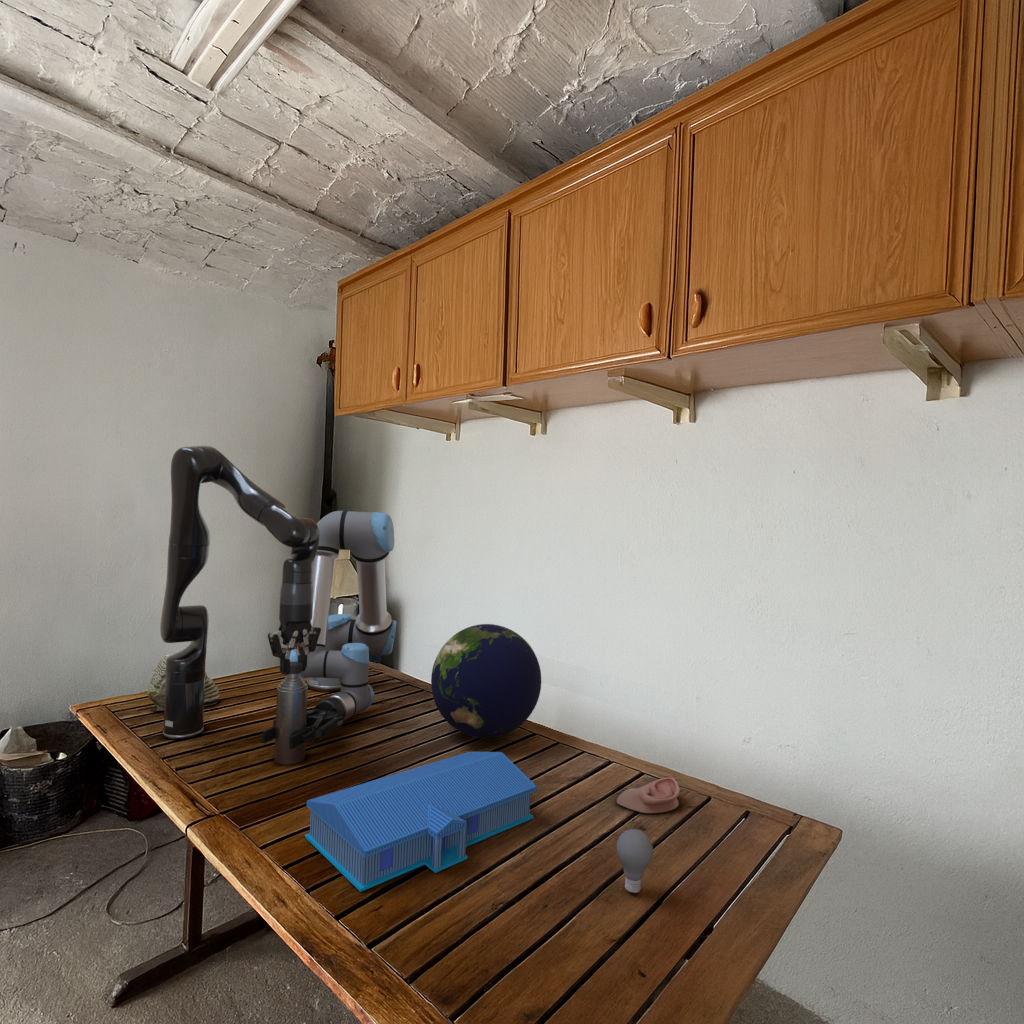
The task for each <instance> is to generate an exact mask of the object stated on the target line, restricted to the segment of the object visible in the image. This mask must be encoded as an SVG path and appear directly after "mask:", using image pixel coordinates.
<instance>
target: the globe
mask: <svg viewBox="0 0 1024 1024" xmlns="http://www.w3.org/2000/svg"><path fill="white" fill-rule="evenodd" d="M430 686H431V688H430V689H431V694H432V697H433V701H434V703H435V706H436V709H437V711H439V713H440V715H441V716H442V718H443V719H444V720H445V721H446V723H448V724H449V725H450V726H451V727H453V728H454V729H455V730H456V731H458V732H460V733H462V734H463V735H466V736H470V737H473V738H477V739H493V738H497V737H502V736H505V735H507V734H509V733H512V732H513V731H515V730H517V729H519V727H521V725H523V724H524V723H525V722H526V721H527V720H528V719H529V718H530V716H531V715H532V714H533V712H534V710H535V708H536V706H537V704H538V702H539V698H540V695H541V689H542V671H541V666H540V663H539V660H538V657H537V655H536V653H535V651H534V649H533V648H532V646H531V645H530V644H529V642H528V641H527V640H526V639H525V638H524V637H522V636H521V635H520V634H519V633H517V632H515V630H512V629H510V628H508V627H506V626H503V625H499V624H494V623H480V624H475V625H471V626H468V627H465V628H464V629H461V630H460V631H457V632H456V633H455V634H454V635H452V636H451V637H450V638H449V639H448V640H446V642H445V643H444V644H443V645H442V647H441V648H440V649H439V651H438V653H437V656H436V657H435V660H434V663H433V665H432V670H431V678H430Z"/></svg>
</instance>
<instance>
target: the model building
mask: <svg viewBox="0 0 1024 1024" xmlns="http://www.w3.org/2000/svg"><path fill="white" fill-rule="evenodd" d="M537 789H538V788H537V785H536V784H535V783H534V782H533V781H532V780H531V779H530V778H529V777H528V776H527V775H526V774H525V773H524V772H523V771H522V770H521V769H520V768H519V767H518V766H517V765H516V764H515V763H513V761H511V759H510V758H509V757H507V755H505V754H504V752H502V751H468V752H464V753H460V754H457V755H454V756H450V757H447V758H444V759H441V760H437V761H434V762H431V763H427V764H424V765H421V766H418V767H414V768H411V769H407V770H404V771H400V772H398V773H394V774H390V775H387V776H384V777H381V778H377V779H374V780H371V781H366V782H364V783H360V784H357V785H354V786H350V787H347V788H344V789H341V790H340V789H339V790H337V791H334V792H330V793H327V794H324V795H321V796H320V795H319V796H316V797H314V798H310V799H308V800H306V807H307V808H308V809H309V811H310V817H309V819H310V820H309V822H310V823H309V832H308V833H306V834H304V838H305V839H306V840H307V841H308V842H309V843H310V844H311V845H312V846H313V847H314V848H315V849H316V850H317V851H318V852H319V853H320V854H321V855H322V856H323V857H324V858H325V859H326V860H327V861H328V862H329V863H330V864H331V865H332V866H334V868H335V869H336V870H338V872H339V873H340V874H342V875H343V876H344V877H345V879H346V880H348V881H349V882H350V883H351V884H352V885H353V886H354V887H355V888H356V889H357V891H359V892H360V893H363V892H364V891H366V890H370V889H371V888H373V887H375V886H378V885H381V884H382V883H385V882H388V881H389V880H392V879H394V878H397V877H400V876H402V875H404V874H406V873H409V872H410V871H413V870H416V869H418V868H420V867H423V866H426V867H427V868H429V870H431V871H432V872H433V873H435V874H437V873H439V872H441V871H443V870H445V869H448V868H450V867H452V866H455V865H457V864H459V863H461V862H463V861H466V860H469V859H468V857H469V856H468V855H467V854H466V848H467V847H469V846H472V845H474V844H476V843H479V842H482V841H484V840H486V839H488V838H490V837H493V836H496V835H497V834H500V833H502V832H505V831H506V830H507V831H508V830H510V829H512V828H513V827H516V826H519V825H521V824H524V823H526V822H528V821H530V820H533V819H534V815H533V814H531V813H530V812H531V811H530V810H531V794H533V793H535V792H537Z"/></svg>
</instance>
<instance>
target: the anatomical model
mask: <svg viewBox="0 0 1024 1024" xmlns="http://www.w3.org/2000/svg"><path fill="white" fill-rule="evenodd" d="M680 793H681V790H680V786H679V783H678V781H677V780H676V779H675V778H674V777H670V776H669V777H668V776H667V777H662V778H659V779H656V780H653V781H651V782H648V783H647V784H645V785H643V786H640V787H637V788H634V787H633V788H628V789H625V790H623V791H622V792H621V793H620V794H619V795H618V797H617V798H616V804H617V805H619V806H621V807H624V808H626V809H628V810H631V811H633V812H639V813H642V814H659V813H660V814H661V813H665V812H670V811H672V810H674V809H676V808H678V807H679V805H680V803H679V802H680V801H679V800H678V797H679V795H680Z"/></svg>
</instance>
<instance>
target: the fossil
mask: <svg viewBox="0 0 1024 1024" xmlns="http://www.w3.org/2000/svg"><path fill="white" fill-rule="evenodd" d="M171 655H172V654H165V655H164V656H163V657H162V658H161V659H160V660H159V662H158V663H157V666H156V667H155V669H154V670H153V672H152V675H151V677H150V680H149V684H148V688H147V697H148V699H149V700H150V701H152V703H153V704H154V706H155V711H158V712H159V711H162V712H163V711H164V705H165V674H166V660H167V658H168V657H169V656H171ZM220 698H221V696H220V690H219V688H218V686H217V685H216V683H215V682H214V681H213V679H212V678H211V677H209V675H208V674H207V672H206V671H205V693H204V707H207V706H213V705H215V704H217V703H218V701H219V699H220Z"/></svg>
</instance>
